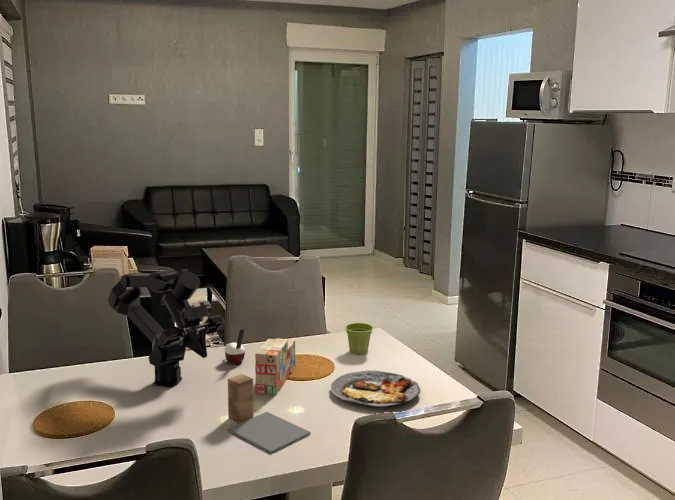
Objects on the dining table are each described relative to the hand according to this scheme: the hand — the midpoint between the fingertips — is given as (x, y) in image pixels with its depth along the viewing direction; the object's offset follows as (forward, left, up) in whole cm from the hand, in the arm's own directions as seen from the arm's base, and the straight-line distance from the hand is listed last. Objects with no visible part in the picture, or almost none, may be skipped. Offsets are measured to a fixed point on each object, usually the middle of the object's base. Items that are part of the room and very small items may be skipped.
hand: (205, 357), depth 171 cm
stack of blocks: (+14, +19, -13) cm, 27 cm away
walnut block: (+13, -7, -13) cm, 19 cm away
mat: (+22, -12, -13) cm, 28 cm away
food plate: (+44, +18, -13) cm, 49 cm away
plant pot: (+33, +49, -13) cm, 60 cm away
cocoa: (-3, +29, -13) cm, 32 cm away
